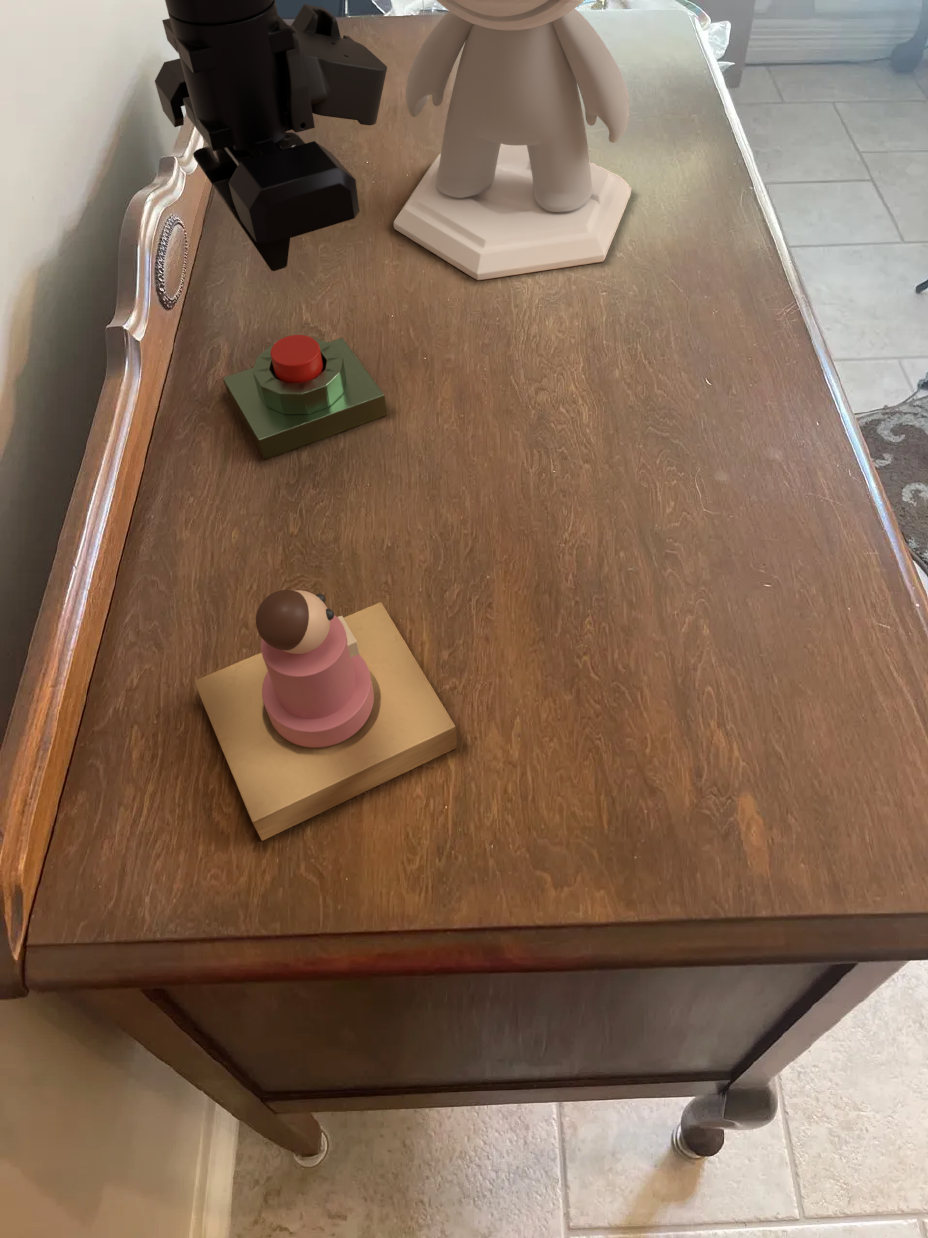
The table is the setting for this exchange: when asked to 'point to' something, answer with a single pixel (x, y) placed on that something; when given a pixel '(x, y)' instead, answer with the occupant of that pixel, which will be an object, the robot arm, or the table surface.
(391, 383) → the table surface
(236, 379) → the green button box
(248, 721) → the doll stand
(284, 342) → the button
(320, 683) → the doll
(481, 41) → the white cartoon figure
